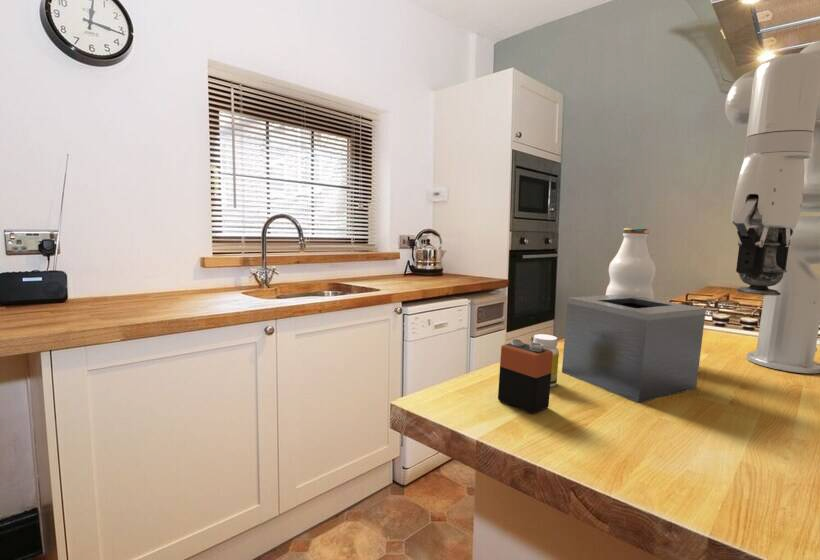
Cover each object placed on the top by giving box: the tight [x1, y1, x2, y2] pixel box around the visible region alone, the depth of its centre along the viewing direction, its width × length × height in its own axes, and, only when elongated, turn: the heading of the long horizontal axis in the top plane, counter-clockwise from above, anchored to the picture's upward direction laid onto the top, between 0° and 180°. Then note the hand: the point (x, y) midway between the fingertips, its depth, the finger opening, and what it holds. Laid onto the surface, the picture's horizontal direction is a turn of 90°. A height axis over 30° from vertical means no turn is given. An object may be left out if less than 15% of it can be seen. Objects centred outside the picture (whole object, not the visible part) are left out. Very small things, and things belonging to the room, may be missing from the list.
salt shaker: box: [736, 223, 787, 296], centre depth 66 cm, size 6×6×12 cm
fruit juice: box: [605, 227, 657, 299], centre depth 96 cm, size 9×9×28 cm
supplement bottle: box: [532, 333, 560, 388], centre depth 78 cm, size 5×5×8 cm
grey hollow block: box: [561, 294, 707, 403], centre depth 81 cm, size 16×16×14 cm
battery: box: [497, 338, 553, 415], centre depth 68 cm, size 4×7×10 cm, turn 41°
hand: (760, 271), depth 66 cm, fingers closed on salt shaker, 5 cm apart
